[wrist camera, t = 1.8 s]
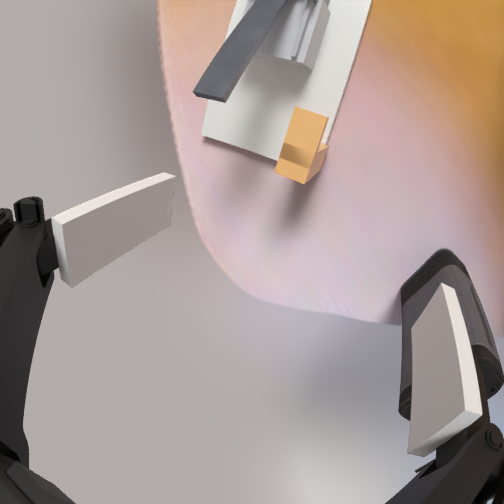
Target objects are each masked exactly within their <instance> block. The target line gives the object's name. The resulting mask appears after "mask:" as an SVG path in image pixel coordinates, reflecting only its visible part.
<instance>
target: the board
mask: <svg viewBox="0 0 504 504" xmlns="http://www.w3.org/2000/svg"><path fill="white" fill-rule="evenodd" d="M255 1H256V0H237V3H236V6H235V9H234V12H233V15H232V18H231V21H230V25H229V28H228V31H227V34H226V38H225V41H226V40H227V38H228V37H229V35H230V34H231V33H232V31H233V30H234V29H235V27H236V26H237V24H238V23H239V22H240V20H241V19H242V18H243V16H244V15H245V14H246V13H247V11H248V10H249V9H250V7H251V6H252V5H253V4H254V2H255ZM372 1H373V0H291V1H290V3H289V4H288V6H287V7H286V8H285V10H284V11H283V13H282V14H281V15H280V17H279V18H278V20H277V21H276V23H275V24H274V26H273V27H272V29H271V30H270V32H269V33H268V35H267V36H266V38H265V39H264V41H263V42H262V44H261V45H260V47H259V48H258V50H257V52H256V53H255V55H254V56H253V58H252V59H251V61H250V63H249V64H248V66H247V68H246V69H245V71H244V73H243V74H242V76H241V78H240V79H239V81H238V83H237V84H236V86H235V88H234V89H233V91H232V93H231V95H230V96H229V98H228V100H227V102H226V103H223V102H219V101H215V100H211V99H209V101H208V105H207V109H206V114H205V118H204V122H203V127H202V131H201V135H203V136H206V137H210V138H213V139H216V140H219V141H222V142H225V143H228V144H231V145H234V146H237V147H240V148H243V149H246V150H249V151H252V152H254V153H257V154H260V155H263V156H265V157H268V158H271V159H274V160H276V161H278V159H279V155H280V152H281V149H282V146H283V143H284V139H285V136H286V133H287V130H288V126H289V123H290V120H291V117H292V114H293V110H294V107H295V106H297V107H300V108H303V109H306V110H309V111H312V112H315V113H318V114H321V115H323V116H326V117H329V120H328V123H327V125H326V128H325V131H324V134H323V137H322V140H321V143H322V144H325V145H327V142H328V139H329V136H330V134H331V131H332V128H333V125H334V122H335V119H336V116H337V113H338V110H339V107H340V104H341V101H342V98H343V95H344V92H345V89H346V86H347V83H348V80H349V77H350V74H351V71H352V67H353V64H354V61H355V58H356V55H357V52H358V48H359V45H360V42H361V39H362V35H363V32H364V29H365V25H366V22H367V19H368V15H369V12H370V8H371V5H372ZM225 41H224V42H225ZM315 175H316V174H315Z"/></svg>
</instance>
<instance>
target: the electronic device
mask: <svg viewBox="0 0 504 504" xmlns="http://www.w3.org/2000/svg"><path fill="white" fill-rule="evenodd" d="M441 283H443V284H445V285H447V286H449V287H451V288H453V289H455V292H456V295H457V299H458V302H459V305H460V308H461V312H462V315H463V318H464V322H465V326H466V329H467V333H468V337H469V341H470V345H471V350H472V354H473V359H474V360H477V362H478V364H479V366H480V368H481V370H482V373H483V378H484V384H485V389H486V392H485V393H486V395H487V400H488V399H489V398H491V397H492V396H493V395H495V394H496V393H497V392H498V391H499V390H500V388H501V387H502V386H503V383H504V375H503V371H502V367H501V363H500V359H499V356H498V352H497V349H496V346H495V342H494V338H493V335H492V332H491V329H490V326H489V323H488V320H487V318H486V315H485V312H484V310H483V307H482V304H481V302H480V299H479V297H478V295H477V293H476V290H475V288H474V285H473V283H472V281H471V279H470V276H469V274H468V272H467V270H466V268H465V266H464V264H463V263H462V262H461V261H460V260H459V259H458V257H457V256H456V255H455V254H454V253H453V252H452V251H450V250H449V249H440V250H438V251H437V252H435V253H434V254H433V255H432V256H431V257H430V258H429V259H428V260H427V261H426V263H425V264H424V265H423V266H422V267H421V268H420V269H419V270H417V271H416V272H415V273H414V274H413V275H412V276H411V277H410V278H409V279H408V280H407V281H406V282H405V283H404V284H403V286H402V288H401V303H402V365H401V386H400V399H399V409H398V411H399V413H400V415H401V416H403V417H404V418H406V419H407V420H409V421H410V420H411V403H412V333H411V328H412V327H413V325H414V324H415V322H416V321H417V320H418V318H419V317H420V315H421V314H422V312H423V311H424V309H425V308H426V306H427V305H428V303H429V302H430V300H431V298H432V297H433V295H434V294H435V292H436V291H437V289H438V287H439V286H440V284H441Z"/></svg>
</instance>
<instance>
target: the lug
mask: <svg viewBox="0 0 504 504" xmlns="http://www.w3.org/2000/svg"><path fill="white" fill-rule="evenodd" d="M328 120H329V117H326V116H323V115H321V114H318V113H315V112H312V111H309V110H306V109H303V108H300V107H297V106H295V107H294V110H293V114H292V117H291V120H290V123H289V126H288V130H287V133H286V136H285V139H284V143H283V146H282V149H281V152H280V155H279V159H278V162H277V165H276V168H275V173H277V174H280V175H282V176H285V177H287V178H290V179H292V180H295V181H297V182H299V183H302V184H305V183H307V182H308V181H309V180H310V179H311V178H312V177H313V176H314V175H315V174H317V173H318V172H319V171H320V170H321V168H322V165H323V162H324V160H325V157H326V154H327V151H328V148H329V146H327V145H325V144H322V143H321V140H322V137H323V134H324V131H325V128H326V125H327V123H328Z"/></svg>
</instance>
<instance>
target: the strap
mask: <svg viewBox="0 0 504 504" xmlns="http://www.w3.org/2000/svg"><path fill="white" fill-rule="evenodd" d="M290 1H291V0H256V1H255V2H254V4H253V5H252V6H251V7H250V9H249V10H248V11H247V13H246V14H245V15H244V16H243V18H242V19H241V20H240V22H239V23H238V24H237V26H236V27H235V29H234V30H233V31H232V33H231V34H230V35H229V37H228V38H227V40H226V41H225V42H224V44H223V45H222V47H221V48H220V50H219V51H218V53H217V54H216V56H215V57H214V59H213V60H212V62H211V63H210V65H209V66H208V68H207V69H206V71H205V73H204V74H203V76H202V77H201V79H200V81H199V82H198V84H197V85H196V87H195V89H194V90H193V92H194V94H195V95H196V96H197V97H202V98H206V99H211V100H215V101H219V102H223V103H226V102H227V100H228V98H229V96H230V95H231V93H232V91H233V89H234V88H235V86H236V84H237V83H238V81H239V79H240V78H241V76H242V74H243V73H244V71H245V69H246V68H247V66H248V64H249V63H250V61H251V59H252V58H253V56H254V55H255V53H256V52H257V50H258V48H259V47H260V45H261V44H262V42H263V41H264V39H265V38H266V36H267V35H268V33H269V32H270V30H271V29H272V27H273V26H274V24H275V23H276V21H277V20H278V18H279V17H280V15H281V14H282V13H283V11H284V10H285V8H286V7H287V6H288V4H289V3H290Z"/></svg>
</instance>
